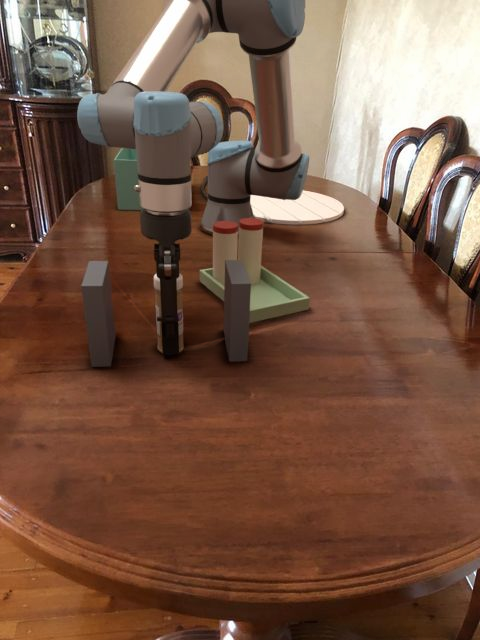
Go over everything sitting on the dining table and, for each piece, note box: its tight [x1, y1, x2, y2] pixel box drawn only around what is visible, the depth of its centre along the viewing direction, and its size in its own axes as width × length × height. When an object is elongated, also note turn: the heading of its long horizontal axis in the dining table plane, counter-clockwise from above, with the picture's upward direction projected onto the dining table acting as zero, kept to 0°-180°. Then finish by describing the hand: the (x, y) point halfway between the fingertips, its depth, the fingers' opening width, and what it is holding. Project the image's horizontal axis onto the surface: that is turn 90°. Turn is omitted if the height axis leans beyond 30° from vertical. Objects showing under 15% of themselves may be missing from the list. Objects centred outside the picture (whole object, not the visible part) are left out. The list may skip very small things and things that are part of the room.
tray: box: [199, 265, 311, 324], centre depth 108 cm, size 22×14×3 cm, turn 31°
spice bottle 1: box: [212, 221, 239, 286], centre depth 109 cm, size 5×5×13 cm
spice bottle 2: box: [237, 218, 264, 285], centre depth 111 cm, size 5×5×13 cm
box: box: [113, 148, 143, 211], centre depth 169 cm, size 21×32×14 cm, turn 6°
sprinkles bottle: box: [153, 272, 185, 354], centre depth 86 cm, size 5×5×14 cm
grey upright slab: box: [223, 259, 251, 363], centre depth 88 cm, size 3×10×14 cm, turn 9°
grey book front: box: [80, 260, 117, 368], centre depth 84 cm, size 3×10×14 cm, turn 9°
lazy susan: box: [250, 189, 345, 226], centre depth 171 cm, size 40×39×3 cm
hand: (170, 345), depth 89 cm, fingers closed on sprinkles bottle, 4 cm apart
